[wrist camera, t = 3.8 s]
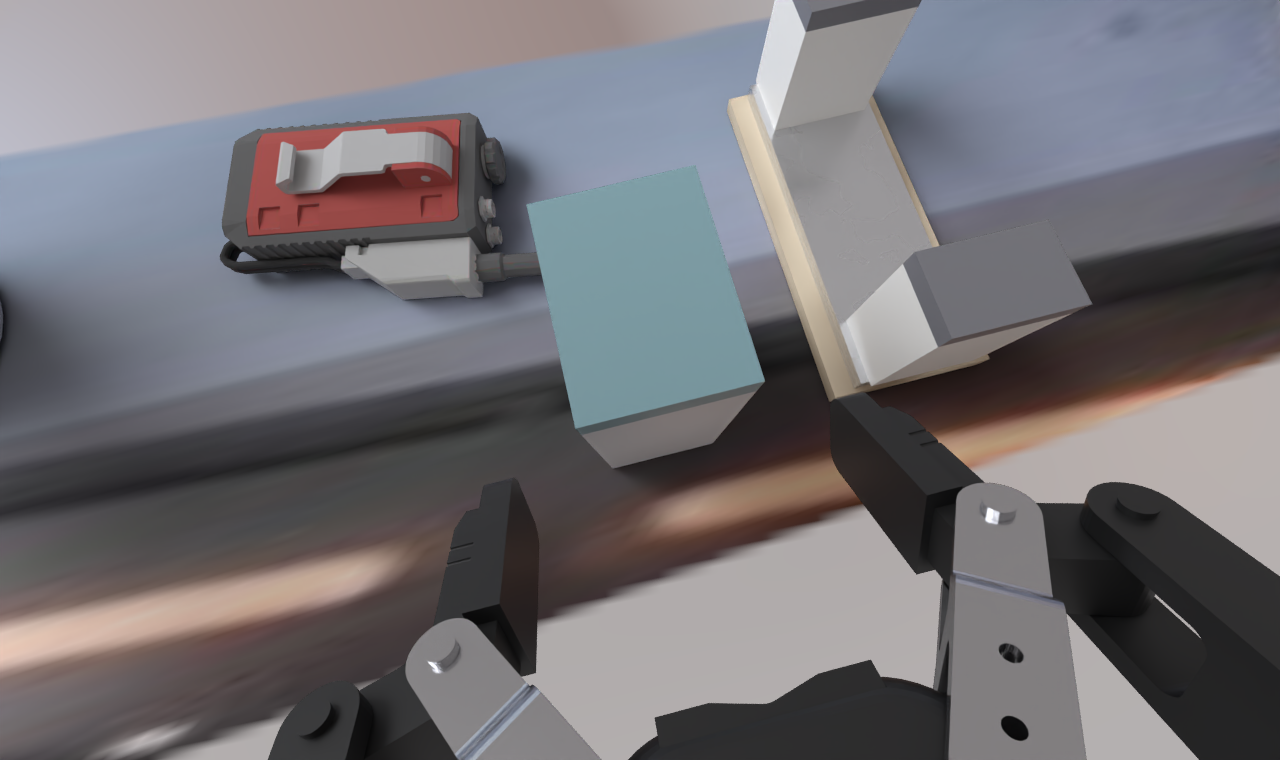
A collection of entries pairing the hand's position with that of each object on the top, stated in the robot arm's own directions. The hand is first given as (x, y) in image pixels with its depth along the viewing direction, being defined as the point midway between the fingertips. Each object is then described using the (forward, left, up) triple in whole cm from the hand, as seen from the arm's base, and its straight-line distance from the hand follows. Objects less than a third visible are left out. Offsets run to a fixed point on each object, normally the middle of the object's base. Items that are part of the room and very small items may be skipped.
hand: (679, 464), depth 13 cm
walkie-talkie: (-14, +9, -10) cm, 20 cm away
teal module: (-2, +4, -10) cm, 10 cm away
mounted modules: (+5, +14, -8) cm, 17 cm away
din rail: (+5, +14, -10) cm, 18 cm away
